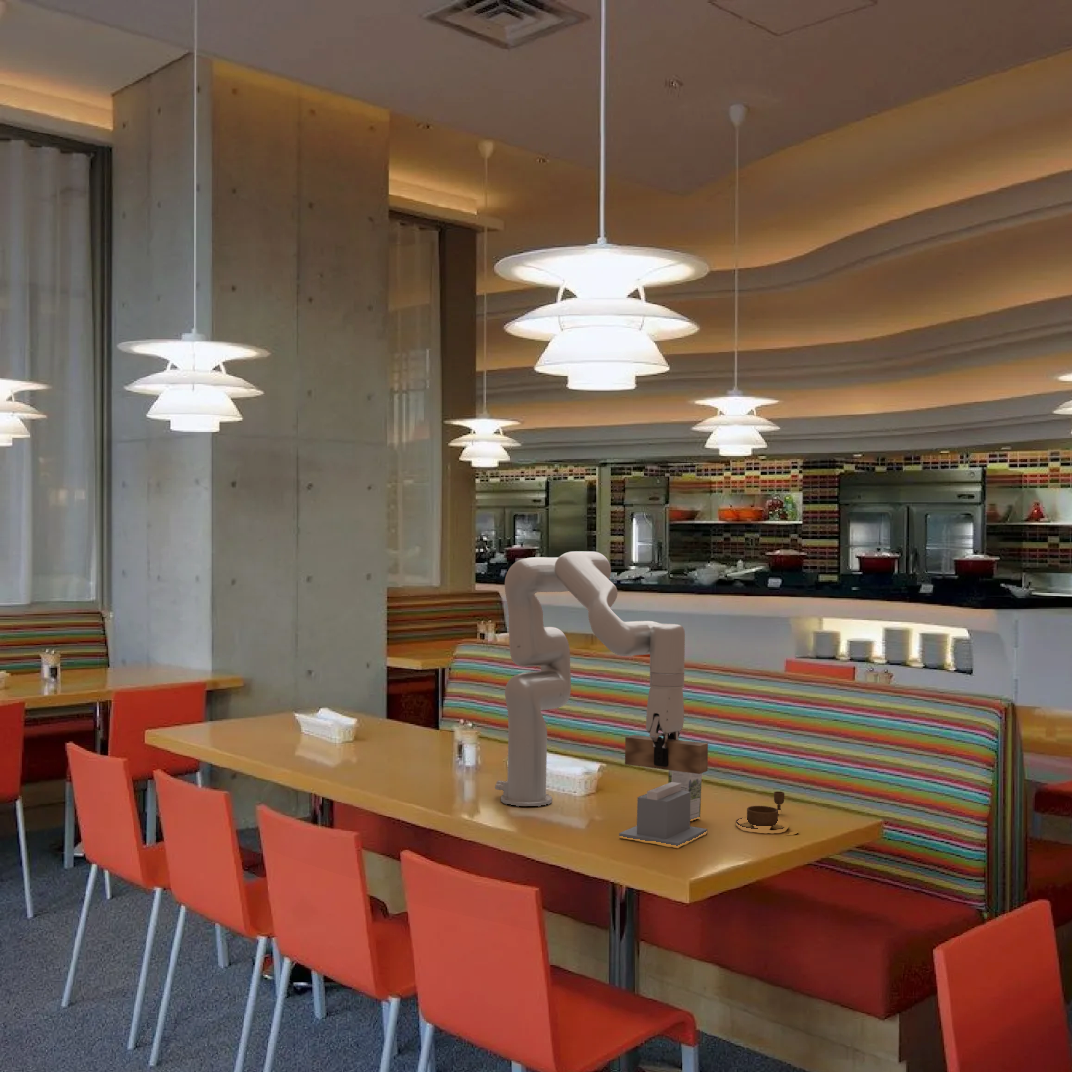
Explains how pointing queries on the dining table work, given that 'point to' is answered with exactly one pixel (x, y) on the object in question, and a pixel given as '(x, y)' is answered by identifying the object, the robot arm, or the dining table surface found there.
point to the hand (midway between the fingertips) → (665, 763)
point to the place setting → (764, 813)
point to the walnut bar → (679, 754)
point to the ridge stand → (664, 816)
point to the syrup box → (689, 788)
